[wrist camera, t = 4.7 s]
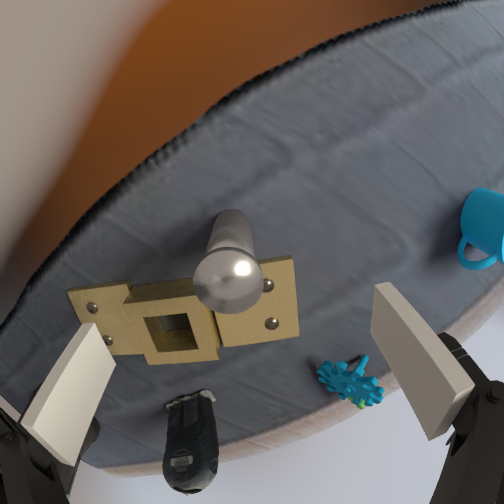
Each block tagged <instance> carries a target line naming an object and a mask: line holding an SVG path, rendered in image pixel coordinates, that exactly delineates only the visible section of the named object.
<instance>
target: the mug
mask: <svg viewBox="0 0 504 504" xmlns="http://www.w3.org/2000/svg"><path fill="white" fill-rule="evenodd" d="M461 231H462V235H463V237H462V238H461V241H460V243H459V245H458V251H457V255H458V259H459V262H460V263H461V265H462V266H463V267H464V268H467V269H469V270H480V269H483V268H486V267H488V266H490V265H492V264H493V263H495V262H496V261H497V260H498V261H499V262H501V263H502V264H504V195H503V194H500V193H497V192H494V191H491V190H488V189H485V188H477V189H475V190H474V191H472V192H471V193H470V195H469V196H468V198H467V199H466V201H465V204H464V206H463V209H462V214H461ZM467 242H468V243H470V244H471V245H473V246H475V247H476V248H478V249H480V250H481V251H483V252H485V253H486V254H488V255H490V256H489V257H487V258H486V259H483V260H480V261H469V260H467V259H466V258H465V257H464V254H463V252H464V247H465V245H466V243H467Z"/></svg>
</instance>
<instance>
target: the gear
mask: <svg viewBox="0 0 504 504" xmlns="http://www.w3.org/2000/svg"><path fill="white" fill-rule="evenodd" d="M368 359H369V357H368V356H366V355H363V356H362V357H361V359H360V361H359V363H358V365H357V366H356V367H355V369H354V370H353V371H351V372H348V371H346V370H345V369H346V368H347V366H348V364H347V363H345V362H343V361H338V363H337V364H336V366H335V368H336V369H337V370H336V369H334V368H333V366H334V364H333V362H331V361H325V362H324V363H323V365H321V366H320V367H319V368H318V370H317V371H316V372H317V373H318V374H320V377H319V381H320V382H322V383H326V384H327V386H326V388H327V390H328V391H330V392H333V391H337V392H340V393H339V394H338V397H339V398H341V399H342V400H345V399H346V397H348V399H349V400H351V402H352V403H353V404H356V405H357V407H358V408H360V409H363V407H364V405H366V406H373V404H374V403H376V404H379V403H381V401H382V399H383V396H382V394H383V392H384V388H382V387H378V386H376V385H377V383H378V380H377V379H376V378H375V377H373V376H370V377H362V375H363V374H364V372H365V371H364V370H363V368H364V366H365V365H366V363H367V361H368Z"/></svg>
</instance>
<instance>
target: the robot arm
mask: <svg viewBox="0 0 504 504" xmlns="http://www.w3.org/2000/svg"><path fill="white" fill-rule="evenodd" d="M370 334H371V335H372V337H373V339H374V340H375V342H376V344H377V346H378V347H379V349H380V351H381V352H382V354H383V356H384V358H385V359H386V361H387V363H388V365H389V366H390V368H391V370H392V372H393V373H394V375H395V377H396V379H397V381H398V382H399V384H400V386H401V388H402V390H403V392H404V393H405V395H406V397H407V399H408V401H409V403H410V405H411V407H412V408H413V410H414V412H415V414H416V416H417V418H418V420H419V422H420V424H421V426H422V428H423V430H424V432H425V434H426V436H427V438H428V440H429V441H430V440H432V439H434V438H436V437H438V436H440V435H442V434H444V433H446V432H447V430H448V429H449V427H450V426H451V424H452V425H453V427H454V428H455V431H454V432H453V434H452V435H451V436H450V438H449V439H448V441H447V443H446V445H448V444H449V443H450V442H451V443H450V447H449V450H448V454H447V457H446V460H445V463H444V466H443V469H442V472H441V475H440V478H439V481H438V483H437V486H436V489H435V491H434V494H433V496H432V499H431V501H430V503H429V504H495V503H496V504H504V383H503V382H500V381H497V380H496V381H490V380H489V379H488V378H487V377H486V376H485V374H484V373H483V372H482V370H481V369H480V368H479V367H478V365H477V364H476V363H475V362H474V361H473V359H472V358H471V357H470V356H469V355H468V354H467V352H466V351H465V350H464V349H462V346H461V345H460V344H459V343H458V341H457V340H456V339H455V338H454V337H452V336H450V335H448V334H447V333H445V332H443V333H440V334H438V335H436V334H435V333H434V331H433V330H432V329H431V328H430V327H429V326H428V324H427V323H426V322H425V321H424V320H423V319H422V317H421V316H420V315H419V314H418V313H417V312H416V311H415V309H414V308H413V307H412V306H411V305H410V304H409V303H408V301H407V300H406V299H405V298H404V297H403V296H402V295H401V294H400V293H399V292H398V290H397V289H396V288H395V287H394V286H393V285H392V284H391V283H390V282H386V283H381V284H376V285H374V299H373V311H372V321H371V330H370ZM115 365H116V363H115V362H114V360H113V358H112V356H111V354H110V352H109V350H108V349H107V347H106V345H105V343H104V341H103V339H102V337H101V335H100V333H99V331H98V329H97V327H96V325H95V323H83V324H82V326H81V327H80V328H79V330H78V331H77V333H76V334H75V335H74V337H73V338H72V340H71V341H70V343H69V344H68V346H67V347H66V348H65V350H64V351H63V353H62V354H61V356H60V357H59V359H58V360H57V362H56V364H55V365H54V367H53V368H52V370H51V371H50V373H49V375H48V376H47V378H46V379H45V380H44V381H43V382H42V383H41V384H40V385H39V386H38V387H37V389H36V390H35V392H34V395H32V397H31V399H30V402H28V404H27V406H26V408H25V409H24V411H23V413H22V415H21V416H20V419H19V420H18V422H15V421H14V420H13V419H12V418H11V417H10V416H9V415H8V414H7V413H6V412H5V411H4V410H3V409H2V408H1V407H0V504H70V503H69V501H68V499H69V497H70V492H71V488H72V485H73V482H74V478H75V475H76V472H77V468H78V465H79V462H80V459H81V457H82V455H83V454H84V453H85V451H86V450H87V449H88V448H89V446H90V445H91V443H93V442H95V441H96V439H97V438H98V435H99V432H100V425H99V423H98V421H97V420H96V419H95V417H94V413H95V411H96V409H97V406H98V404H99V401H100V399H101V397H102V394H103V392H104V390H105V388H106V385H107V383H108V381H109V378H110V376H111V374H112V372H113V370H114V367H115Z"/></svg>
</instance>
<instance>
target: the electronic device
mask: <svg viewBox="0 0 504 504" xmlns="http://www.w3.org/2000/svg"><path fill="white" fill-rule="evenodd" d="M178 400H179V401H176V400H175V401H173V402H172V403H169V404H167V405H166V408H167V410H168V413H169V417H168V430H167V442H166V450H165V454H164V459H163V465H162V467H163V475H164V477H165V479H166V481H167V483H168V484H169V486H170V487H172V488H173V489H174V490H176V491H178V492H181V493H184V494H185V495H188V494H194V493H198V492H200V491H202V490H203V489H205V488H206V487H207V486H208V485H209V484H210V483H211V482H212V480H213V479H214V477H215V475H216V473H217V468H218V455H219V444H218V438H217V431H216V421H215V418H214V413H213V409H212V402H213V401H215V398H214V397H213V395H212V393H211V392H210V391H208V390H204V391H201V392H198V393H196V394H193V395H191V396H185V397H183V398H178Z"/></svg>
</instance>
